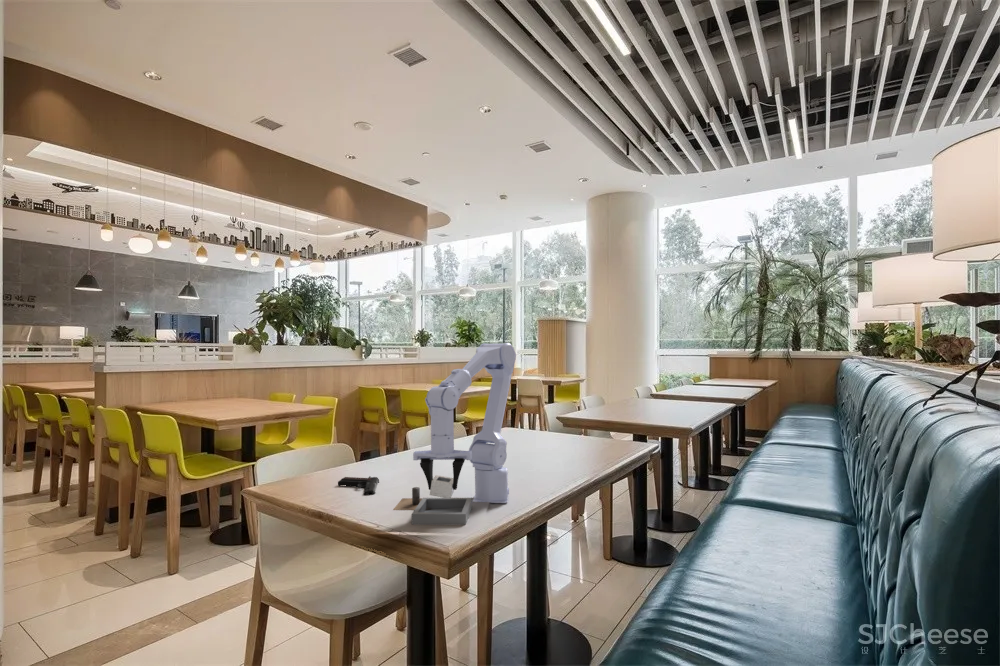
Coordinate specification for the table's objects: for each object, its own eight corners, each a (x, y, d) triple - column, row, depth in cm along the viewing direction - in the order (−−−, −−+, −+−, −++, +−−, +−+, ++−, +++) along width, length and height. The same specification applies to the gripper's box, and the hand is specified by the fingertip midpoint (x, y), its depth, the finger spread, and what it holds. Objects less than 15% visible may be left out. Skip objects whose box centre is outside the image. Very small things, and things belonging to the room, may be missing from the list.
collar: (453, 492, 127) (455, 478, 127) (450, 498, 122) (452, 484, 122) (433, 489, 127) (435, 475, 127) (429, 495, 122) (431, 480, 122)
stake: (437, 500, 138) (437, 483, 138) (430, 512, 128) (430, 493, 128) (402, 500, 139) (402, 483, 139) (392, 512, 129) (392, 493, 129)
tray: (472, 509, 130) (472, 497, 130) (465, 526, 117) (465, 514, 117) (423, 509, 131) (423, 497, 131) (411, 526, 118) (411, 514, 118)
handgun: (330, 492, 141) (375, 489, 143) (340, 476, 159) (380, 474, 161) (330, 500, 141) (375, 497, 143) (340, 484, 159) (380, 481, 161)
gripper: (410, 437, 121) (410, 493, 121) (469, 436, 120) (469, 493, 120) (416, 432, 128) (417, 485, 128) (472, 432, 127) (473, 485, 127)
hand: (442, 488), depth 124 cm, fingers closed on collar, 5 cm apart
